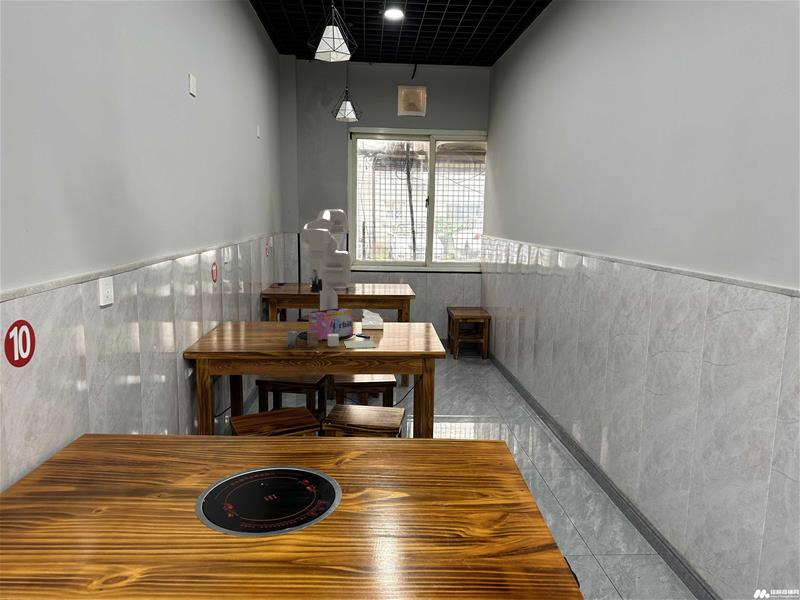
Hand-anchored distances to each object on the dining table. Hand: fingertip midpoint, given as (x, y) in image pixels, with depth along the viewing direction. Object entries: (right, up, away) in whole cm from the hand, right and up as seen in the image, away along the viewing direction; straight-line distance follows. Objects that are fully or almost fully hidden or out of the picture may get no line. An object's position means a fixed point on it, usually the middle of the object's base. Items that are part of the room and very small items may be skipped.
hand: (317, 291), depth 264 cm
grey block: (+8, -26, +1) cm, 27 cm away
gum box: (+4, -23, +21) cm, 31 cm away
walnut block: (-2, -26, -1) cm, 26 cm away
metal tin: (-11, -26, -2) cm, 28 cm away
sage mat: (+20, -26, +1) cm, 33 cm away
